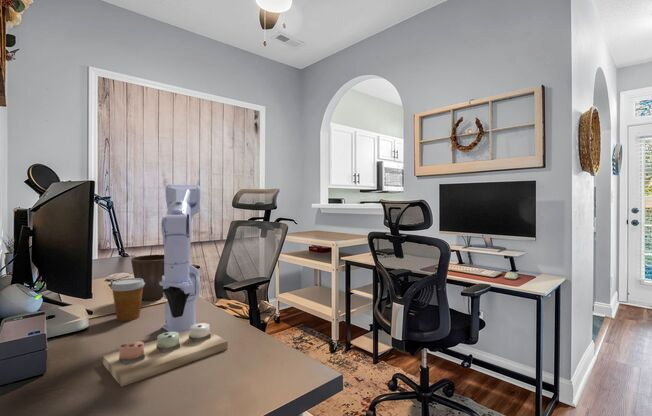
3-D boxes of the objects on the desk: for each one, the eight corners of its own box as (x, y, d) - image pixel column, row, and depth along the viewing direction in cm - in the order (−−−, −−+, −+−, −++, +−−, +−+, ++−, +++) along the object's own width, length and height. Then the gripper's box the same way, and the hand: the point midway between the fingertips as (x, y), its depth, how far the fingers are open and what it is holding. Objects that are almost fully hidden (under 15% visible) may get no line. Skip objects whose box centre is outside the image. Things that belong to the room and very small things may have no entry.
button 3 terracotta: (116, 354, 75) (116, 345, 75) (139, 347, 78) (139, 338, 78) (123, 361, 71) (123, 351, 71) (147, 354, 75) (147, 344, 75)
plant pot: (168, 290, 140) (168, 253, 140) (179, 298, 129) (178, 257, 129) (128, 297, 131) (127, 256, 131) (135, 306, 119) (135, 262, 119)
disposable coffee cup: (138, 311, 114) (137, 276, 114) (150, 317, 108) (149, 280, 108) (106, 318, 107) (106, 281, 107) (117, 325, 101) (117, 286, 101)
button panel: (102, 364, 77) (102, 351, 77) (201, 333, 94) (201, 323, 94) (121, 387, 67) (121, 372, 67) (227, 348, 85) (227, 337, 85)
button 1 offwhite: (186, 334, 86) (186, 326, 86) (204, 329, 90) (204, 321, 90) (195, 339, 83) (195, 330, 83) (212, 333, 87) (212, 325, 87)
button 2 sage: (154, 343, 81) (154, 335, 81) (174, 337, 84) (174, 329, 84) (161, 349, 77) (161, 340, 77) (182, 343, 81) (182, 334, 81)
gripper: (149, 260, 85) (149, 313, 85) (172, 268, 75) (172, 328, 75) (177, 257, 90) (177, 307, 90) (202, 264, 80) (202, 320, 80)
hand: (177, 316), depth 83 cm, fingers closed
